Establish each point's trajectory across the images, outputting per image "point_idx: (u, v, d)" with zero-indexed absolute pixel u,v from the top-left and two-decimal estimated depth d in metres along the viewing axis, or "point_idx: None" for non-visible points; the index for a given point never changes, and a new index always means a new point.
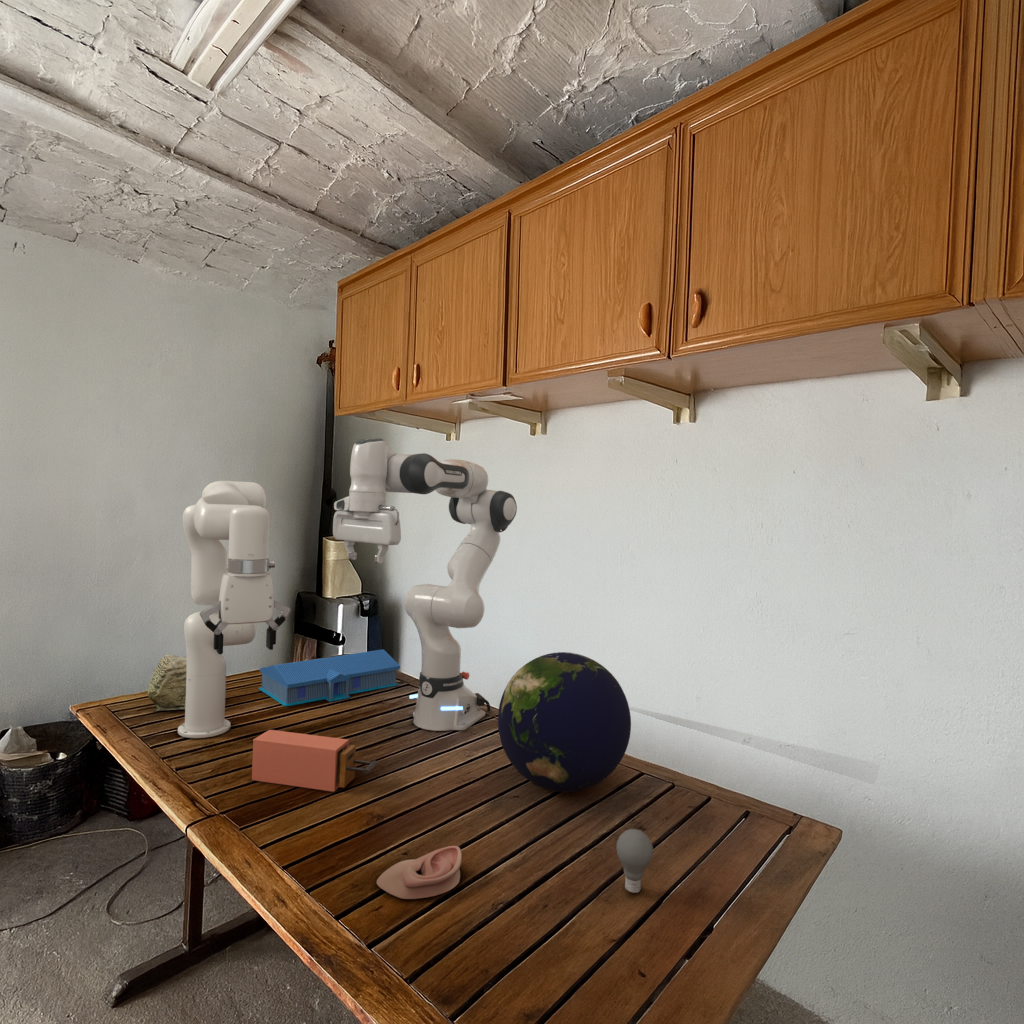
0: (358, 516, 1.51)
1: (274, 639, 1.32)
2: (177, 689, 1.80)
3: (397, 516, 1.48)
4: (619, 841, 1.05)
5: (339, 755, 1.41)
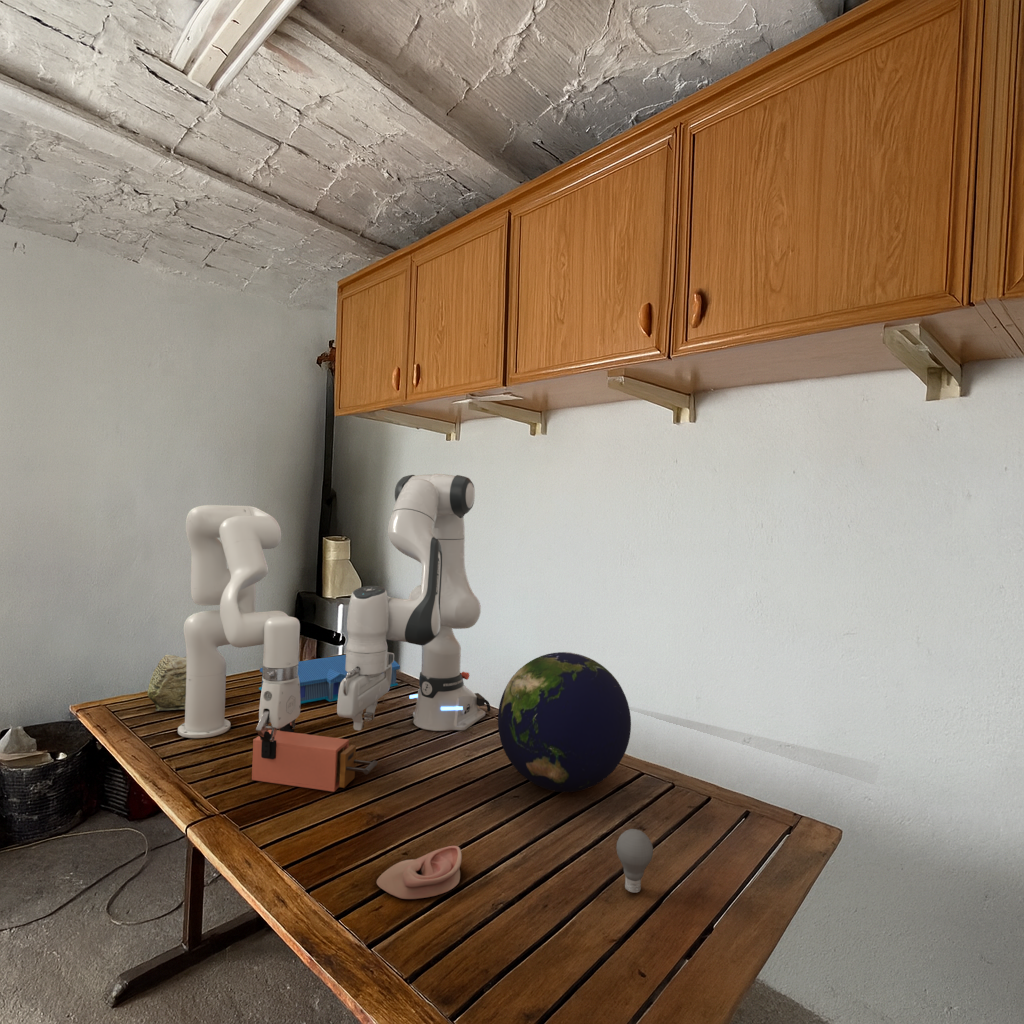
0: None
1: None
2: (177, 689, 1.80)
3: (343, 685, 1.28)
4: (619, 841, 1.05)
5: (339, 755, 1.41)
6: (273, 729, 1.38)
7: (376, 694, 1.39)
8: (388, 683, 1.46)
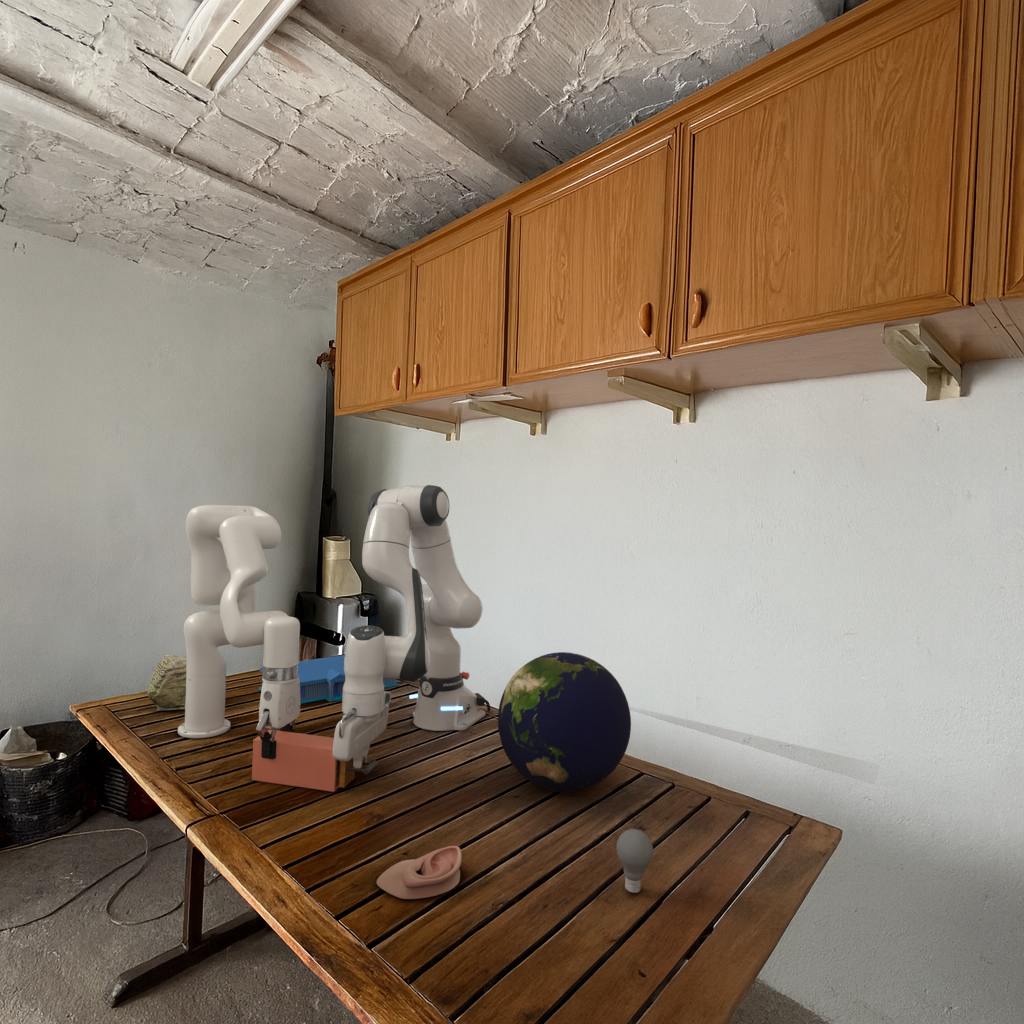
0: None
1: None
2: (177, 689, 1.80)
3: (339, 728, 1.28)
4: (619, 841, 1.05)
5: None
6: (273, 729, 1.38)
7: (372, 734, 1.39)
8: (385, 722, 1.46)
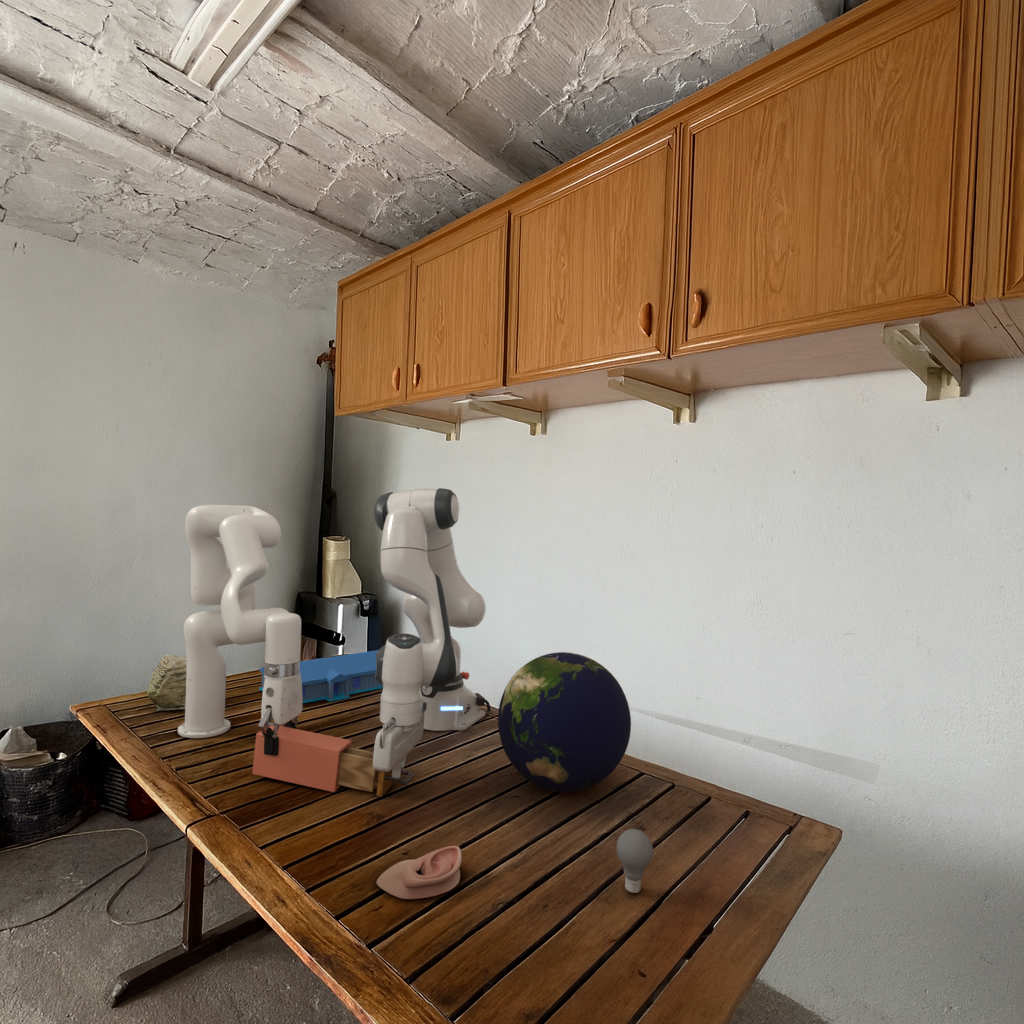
0: None
1: None
2: (177, 689, 1.80)
3: (380, 738, 1.26)
4: (619, 841, 1.05)
5: None
6: (275, 726, 1.38)
7: (409, 744, 1.37)
8: (420, 731, 1.44)
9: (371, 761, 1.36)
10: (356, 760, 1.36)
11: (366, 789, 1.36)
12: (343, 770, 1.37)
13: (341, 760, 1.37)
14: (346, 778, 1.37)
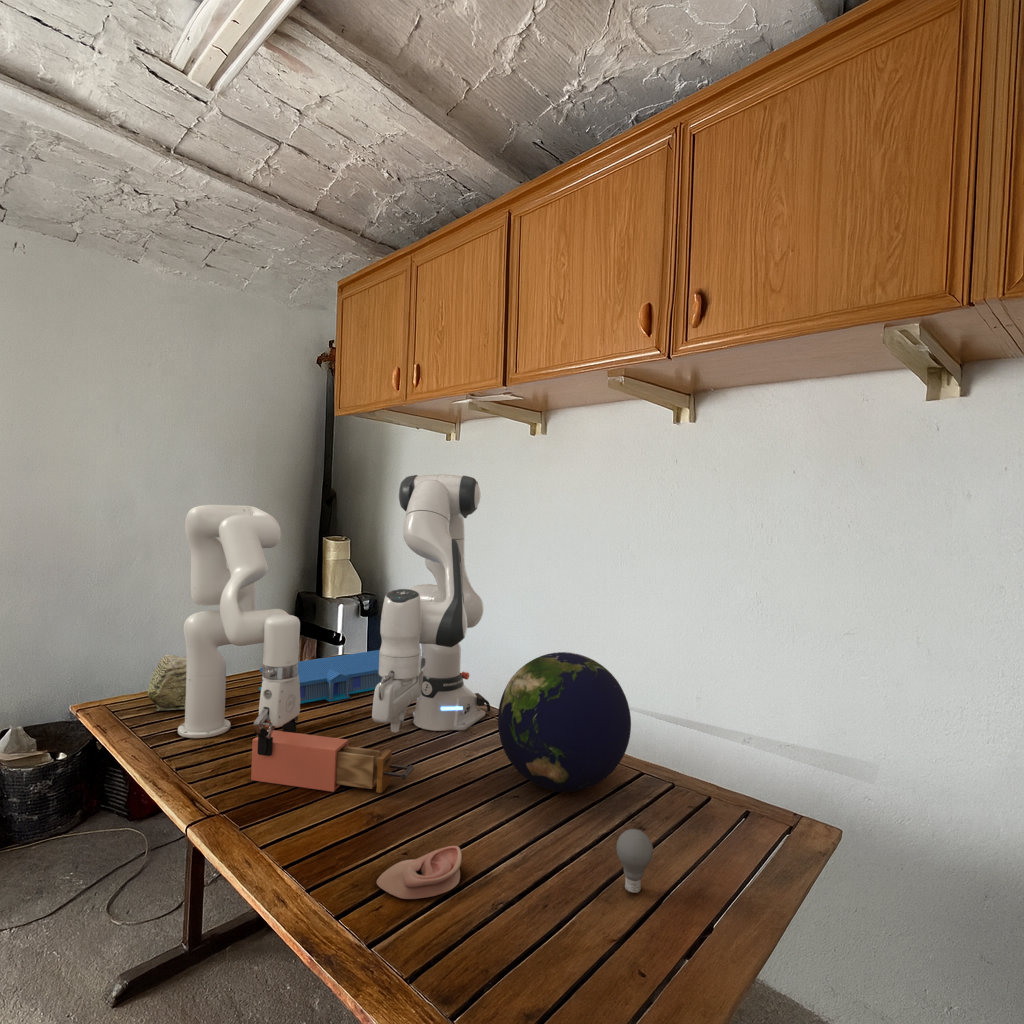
0: None
1: None
2: (177, 689, 1.80)
3: (379, 690, 1.26)
4: (619, 841, 1.05)
5: (375, 760, 1.39)
6: (271, 726, 1.37)
7: (409, 698, 1.38)
8: (419, 687, 1.45)
9: (369, 758, 1.36)
10: (354, 758, 1.37)
11: (366, 787, 1.36)
12: (341, 769, 1.37)
13: (339, 759, 1.37)
14: (345, 777, 1.37)
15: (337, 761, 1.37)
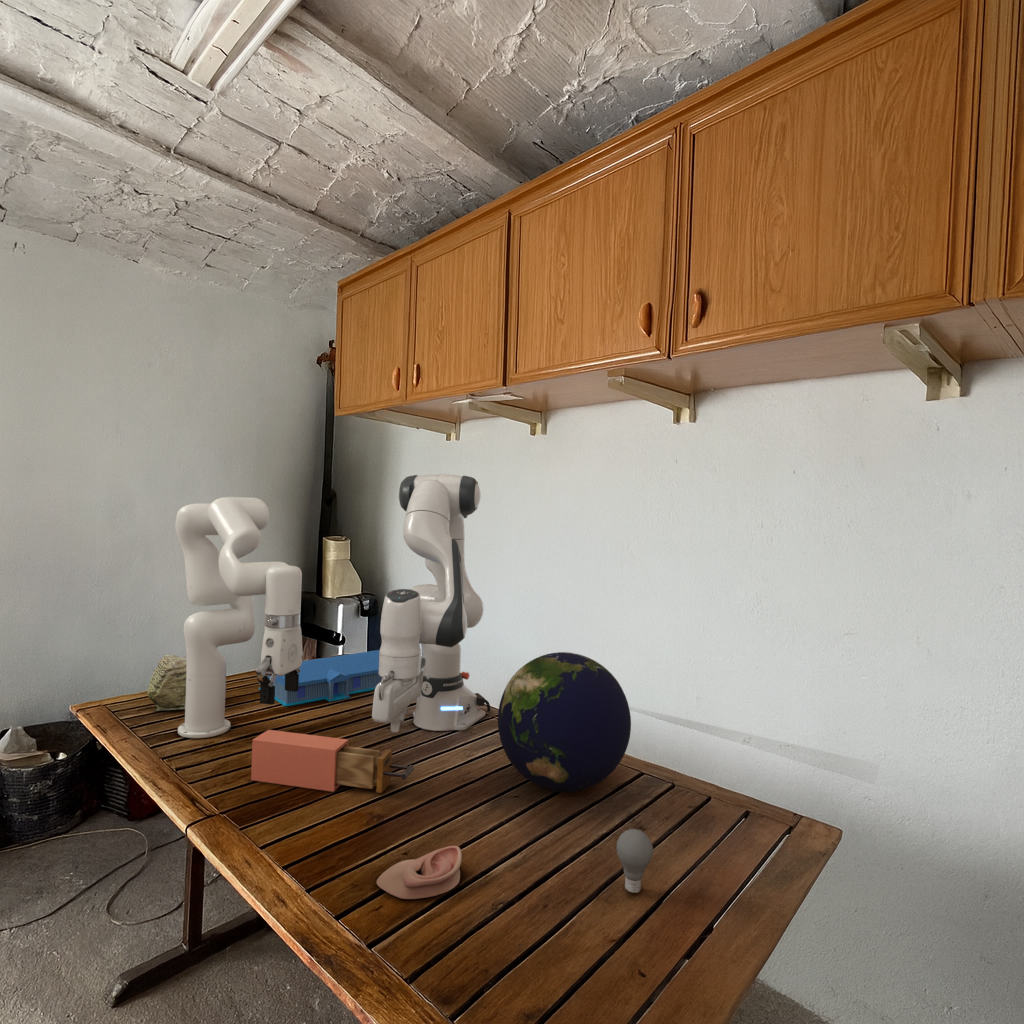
0: None
1: None
2: (177, 689, 1.80)
3: (379, 690, 1.26)
4: (619, 841, 1.05)
5: (375, 760, 1.39)
6: (273, 674, 1.37)
7: (409, 698, 1.38)
8: (419, 687, 1.45)
9: (369, 758, 1.36)
10: (354, 758, 1.37)
11: (366, 787, 1.36)
12: (341, 769, 1.37)
13: (339, 759, 1.37)
14: (345, 777, 1.37)
15: (337, 761, 1.37)
